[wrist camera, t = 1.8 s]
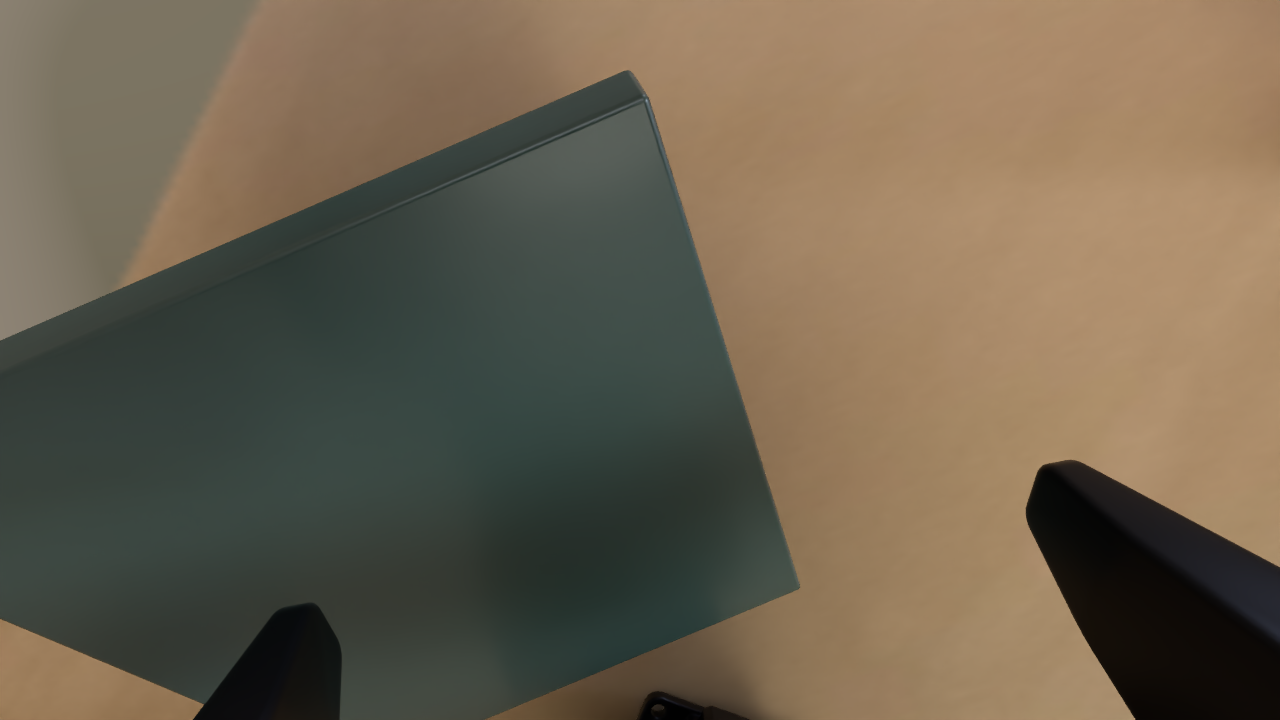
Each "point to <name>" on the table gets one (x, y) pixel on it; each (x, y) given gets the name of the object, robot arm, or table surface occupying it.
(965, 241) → the table surface
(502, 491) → the lid
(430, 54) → the table surface
